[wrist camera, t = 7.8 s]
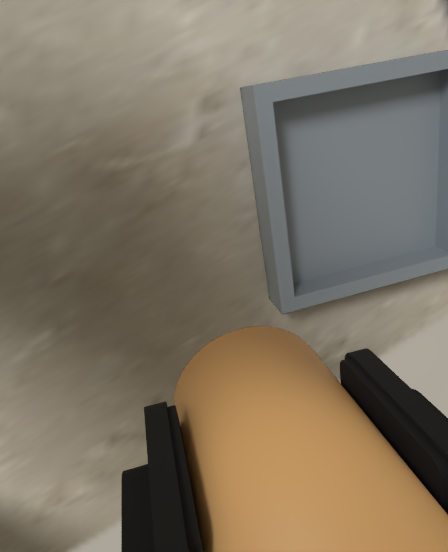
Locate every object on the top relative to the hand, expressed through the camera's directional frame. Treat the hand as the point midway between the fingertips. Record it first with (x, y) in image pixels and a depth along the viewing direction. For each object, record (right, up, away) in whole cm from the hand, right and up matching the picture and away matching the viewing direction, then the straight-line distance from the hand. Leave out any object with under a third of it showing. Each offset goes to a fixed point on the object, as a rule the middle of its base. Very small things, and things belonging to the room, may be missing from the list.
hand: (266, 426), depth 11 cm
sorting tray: (+8, +10, +18) cm, 22 cm away
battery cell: (0, 0, +1) cm, 1 cm away
